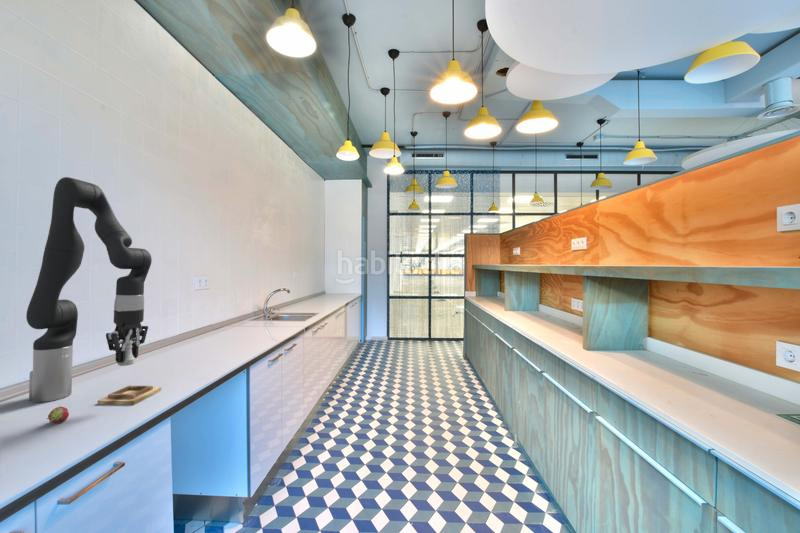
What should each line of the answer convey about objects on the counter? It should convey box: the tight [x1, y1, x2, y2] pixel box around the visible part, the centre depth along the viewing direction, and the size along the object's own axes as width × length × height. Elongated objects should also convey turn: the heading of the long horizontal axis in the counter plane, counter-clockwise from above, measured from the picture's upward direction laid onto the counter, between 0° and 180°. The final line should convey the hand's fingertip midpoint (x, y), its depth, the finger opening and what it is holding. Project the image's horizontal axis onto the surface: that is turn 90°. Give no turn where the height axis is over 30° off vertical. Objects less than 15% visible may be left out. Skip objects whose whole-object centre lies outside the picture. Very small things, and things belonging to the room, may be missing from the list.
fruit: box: [46, 406, 70, 424], centre depth 93 cm, size 4×6×5 cm
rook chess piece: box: [116, 339, 136, 367], centre depth 105 cm, size 4×4×8 cm
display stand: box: [97, 385, 162, 406], centre depth 111 cm, size 12×12×2 cm
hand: (127, 359), depth 105 cm, fingers closed on rook chess piece, 4 cm apart
